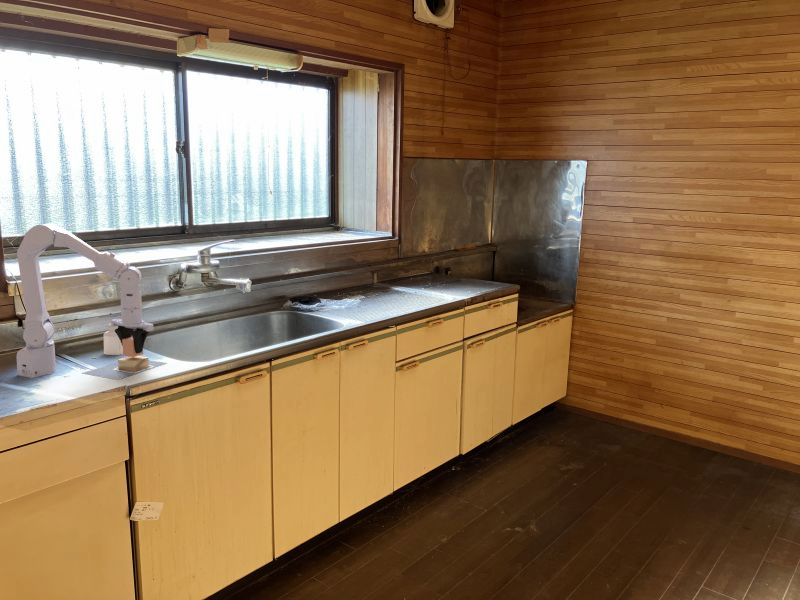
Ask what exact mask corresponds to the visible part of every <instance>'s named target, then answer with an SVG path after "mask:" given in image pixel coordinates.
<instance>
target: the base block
mask: <svg viewBox="0 0 800 600" xmlns="http://www.w3.org/2000/svg"><path fill="white" fill-rule="evenodd" d="M149 360H150V359H149V357H148V356H142V355H139V356H135V357H129V356H125V357H121V358H118V359H117V362H118V369H120V370H126V371H132V372H135V371H138V370H141V369H144V368H147V367H149Z"/></svg>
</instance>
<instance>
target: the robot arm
mask: <svg viewBox="0 0 800 600" xmlns="http://www.w3.org/2000/svg"><path fill="white" fill-rule="evenodd" d="M51 246H53V247H56V248H57V247H58V248H68V249H70V250H72V251H73V252H75V253H78V254H79V255H80V256H83V257H84V258H86V259H88V260H90V261H92V262H93V264H94V268H95V269H96V270H98V271H100V272H102V273H103V274H105V275H106V276H108V277H110V278H111V279H114V280H117V282H118V284H119V285H120V316H121V318H119V319H118V318H114V319H111V320H110V323H111V326H117V329H115V333H116V334H117V335H118V337H119V339H120V341H121V344H122V339H125V338H129V337H133V340H134V348H135V353H141V352H142V350H143V351H144V344H145V341H146V339H147V337H148V335H149V334H150V332H153V331H154V329H155V328H154V323H149V322H147V321H145V320H144V319H143V310H142V309H143V304H142V291H141V289H142V286H141V281H142V277H143V276H142V273H141V271H140V269H138V268H137V266H133V265H131V263H129V262H125V261H123V260H121V259H119V258H118V257H117V256H116V253H114V252H111V251H110V252H108V251H103V252H100V251H98V250H97V249H96V248H94V247H92V245H90V244H88V243H86V242H85V241H83V240H82V239H80V238H79V237H77V236H75V235H74V234H73V233H71V232H70V231H68V230H66V229H65V228H62V227H58V225H56V224H54V223H52V222H45V223H43V224H36V225H34V226H32V227H31V228H29V230H27V231H26V232H25V233H24V237H23V239H22V241H21V243H20V245H19V246H18V248H17V251H16V256H17V258H16V259H17V262H18V270H19V275H20V276H19V277H20V281H21V288H22V293H23V300H24V307H25V313H26V315H25V319H24V326H25V328H24V331H23V333H22V337H23V340H24V342H25V347H23V348H21V349H19V350H18V351H17V353H16V370H17V372H16V373H17V376H20V377H25V378H30V379H34V378H37V377H40V376H45V375H50V374H53V373H56V371H57V369H56V368H57V367H56V366H57V365H56V350H55V340H54V339H53V338H52V337H54V336H55V333H56V327H55V324H54V323H53V322H52V321H51V317H50V313H49V312H48V310H47V306H46V299H45V293H44V287H43V278H42V274H41V267H40V261H39V257H40V256H41V255H42V254H43V252H45V251H46V249H48V248H50V247H51ZM122 347H123V344H122Z"/></svg>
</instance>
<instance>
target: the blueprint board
mask: <svg viewBox="0 0 800 600" xmlns="http://www.w3.org/2000/svg"><path fill="white" fill-rule="evenodd" d="M148 360H149V367H147V368H144V369H141V370H138V371H135V372H132V371H126V370H120V369H118V361H117V362H114V363H110V364H107V365H104V366H101V367H97V368H95V369H90V370H89V371H84V372H81V374H83V375H88V376H89V375H90V376H95V377H100V378H105V379H110V380H115V381H120V380H122V379H126V378H129V377H132V376H134V375H138V374H140V373H144V372H146V371H149V370H152V369H155V368H158V367H161V366H163V365H166V364H168V363H167V362H163V361H157V360H156V361H155V360H150V359H148Z"/></svg>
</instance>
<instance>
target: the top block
mask: <svg viewBox="0 0 800 600" xmlns="http://www.w3.org/2000/svg"><path fill="white" fill-rule="evenodd" d="M122 344H123V354H122V356H125V357H128V356H129V357H135V356H142V355H144V349H143V350H142V352H141V353H135V348H134V340H133V337H132V336H131V337H129V338H125V339H122Z"/></svg>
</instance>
